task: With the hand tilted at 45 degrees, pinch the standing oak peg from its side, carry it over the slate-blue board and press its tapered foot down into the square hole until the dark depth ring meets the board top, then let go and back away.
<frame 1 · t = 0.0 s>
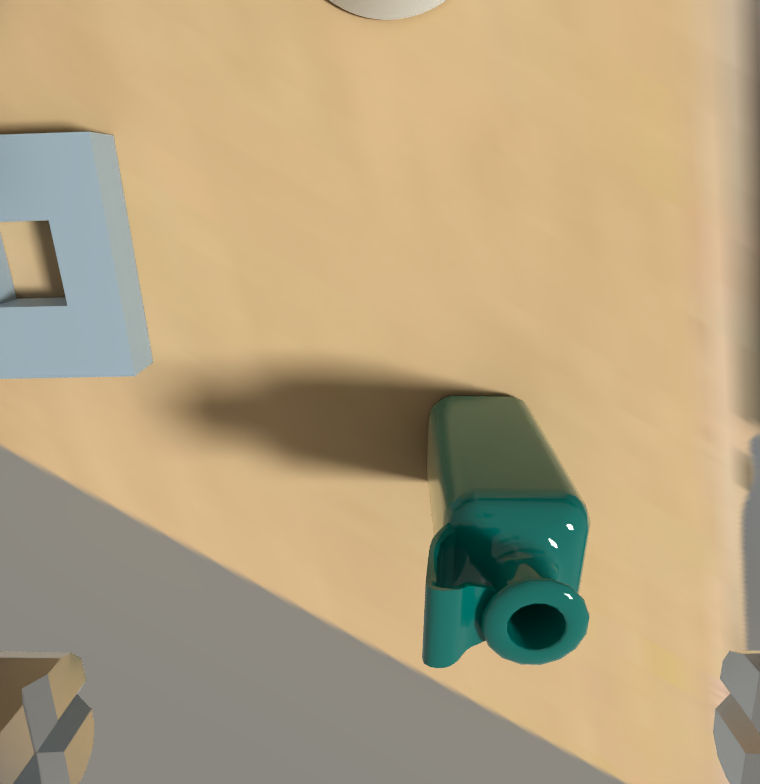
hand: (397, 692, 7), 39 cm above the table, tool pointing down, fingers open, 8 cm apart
seat board: (45, 258, 44), on the table
teal bottle: (469, 439, 49), on the table
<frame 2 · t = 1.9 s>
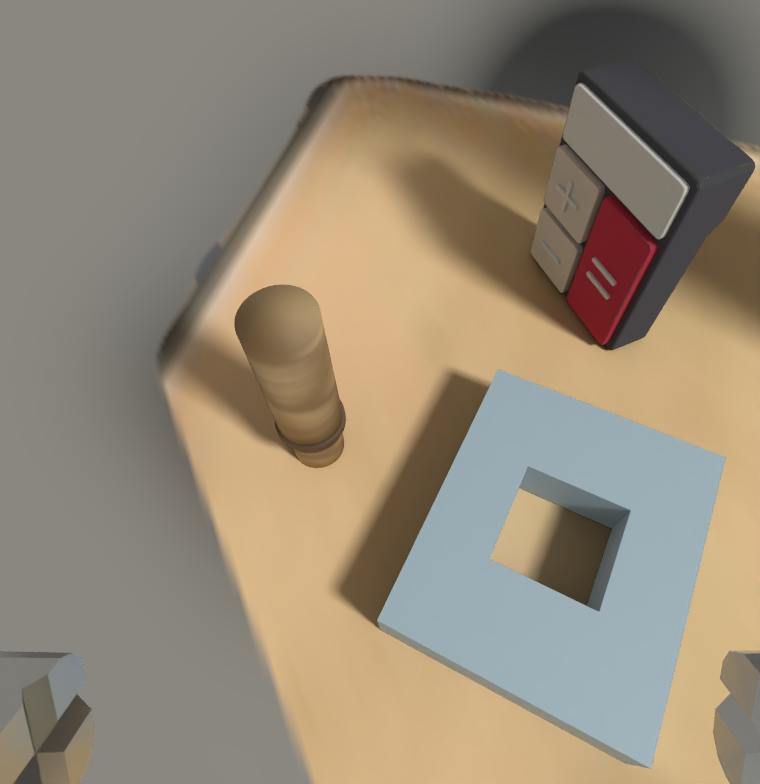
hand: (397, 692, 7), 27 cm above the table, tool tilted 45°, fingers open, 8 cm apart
peg: (318, 444, 39), on the table
calculator: (583, 295, 44), on the table
seat board: (547, 550, 34), on the table
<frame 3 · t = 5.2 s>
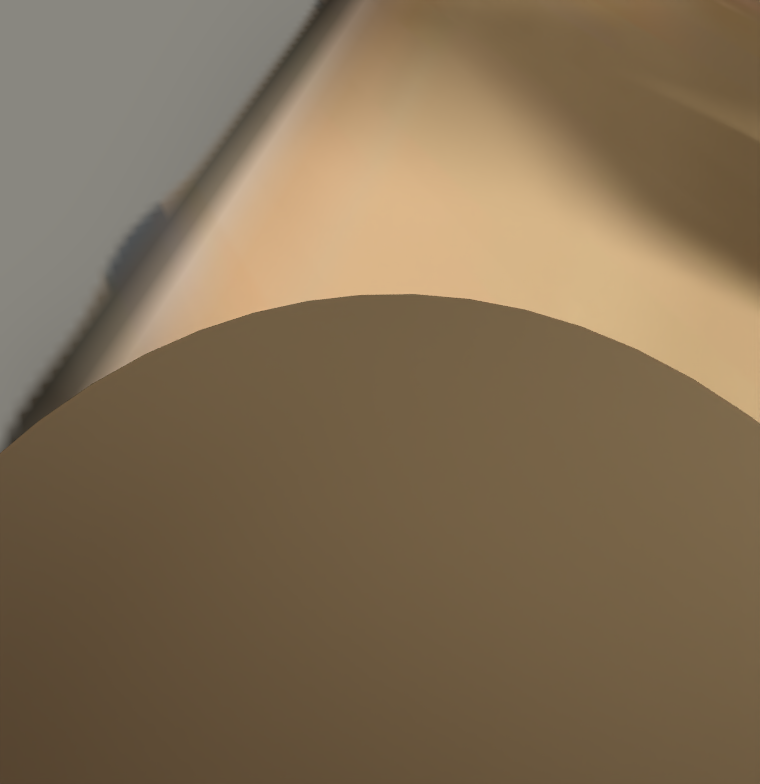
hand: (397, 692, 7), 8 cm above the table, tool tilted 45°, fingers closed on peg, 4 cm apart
peg: (400, 738, 14), on the table, touching gripper
when the fingers open (8 cm above the table, at t = 9.8 s): peg stays where it is, resting in seat board.
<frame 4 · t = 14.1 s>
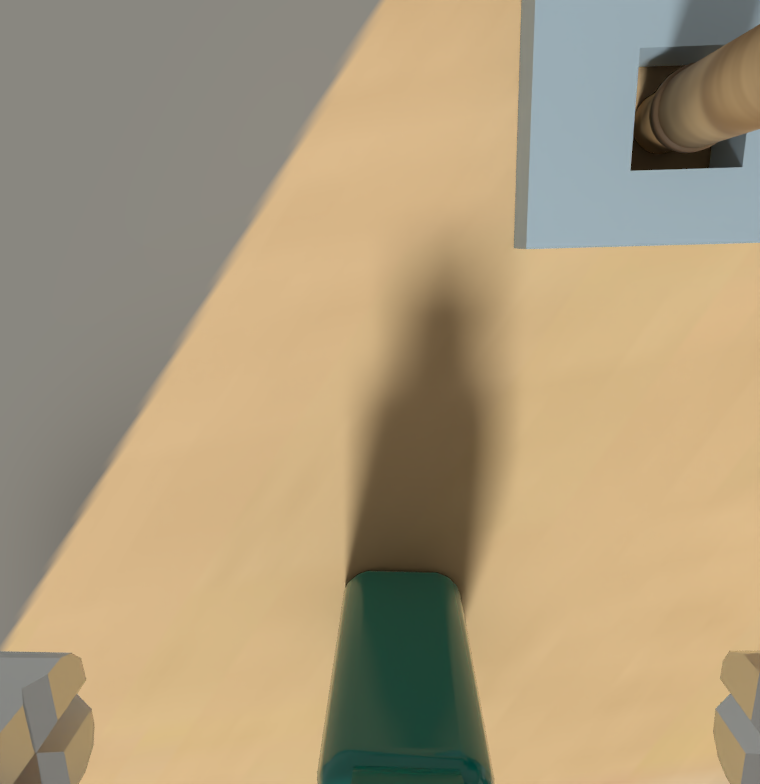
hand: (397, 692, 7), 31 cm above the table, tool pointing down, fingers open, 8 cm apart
peg: (662, 122, 34), resting in seat board
seat board: (662, 122, 34), on the table
teal bottle: (401, 608, 43), on the table
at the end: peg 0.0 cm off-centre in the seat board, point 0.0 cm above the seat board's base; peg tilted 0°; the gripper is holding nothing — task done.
